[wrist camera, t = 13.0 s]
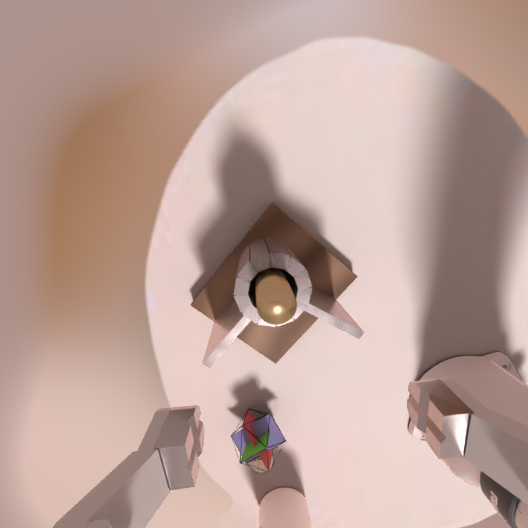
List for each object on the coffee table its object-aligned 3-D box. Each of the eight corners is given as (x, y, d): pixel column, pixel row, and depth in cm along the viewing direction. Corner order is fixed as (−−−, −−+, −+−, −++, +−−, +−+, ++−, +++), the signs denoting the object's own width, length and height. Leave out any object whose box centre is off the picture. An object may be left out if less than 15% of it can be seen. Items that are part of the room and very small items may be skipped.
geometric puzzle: (216, 419, 34) (233, 491, 29) (257, 395, 34) (281, 465, 29) (241, 418, 40) (258, 479, 35) (276, 398, 39) (299, 457, 34)
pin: (283, 262, 30) (305, 303, 18) (267, 280, 30) (279, 331, 18) (264, 247, 29) (274, 279, 17) (248, 266, 29) (248, 309, 18)
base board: (352, 273, 32) (357, 276, 31) (274, 356, 35) (275, 363, 33) (271, 203, 29) (273, 203, 28) (193, 300, 32) (190, 305, 30)
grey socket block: (341, 290, 31) (376, 326, 22) (274, 361, 33) (284, 419, 24) (262, 225, 28) (268, 237, 20) (196, 307, 30) (174, 350, 22)
